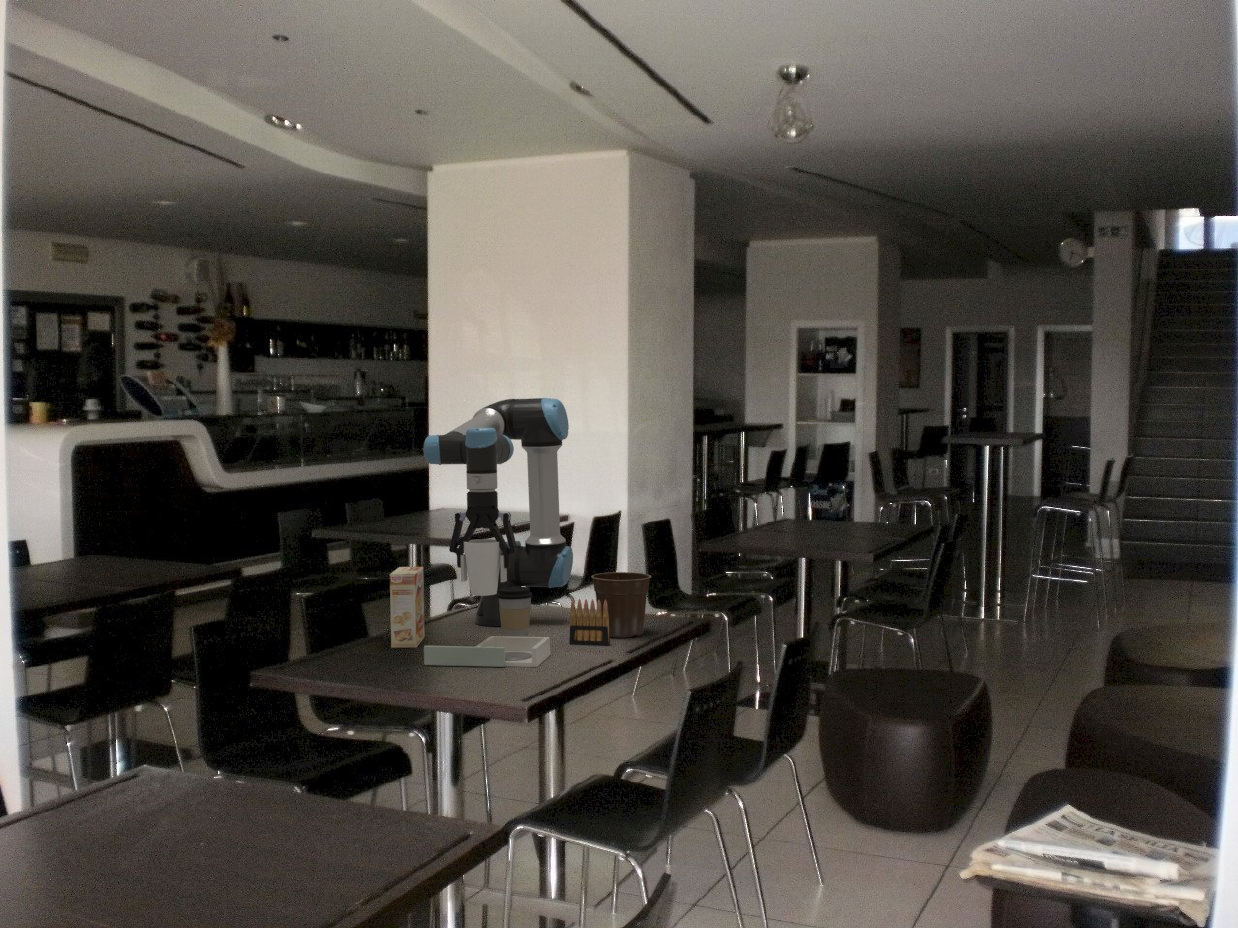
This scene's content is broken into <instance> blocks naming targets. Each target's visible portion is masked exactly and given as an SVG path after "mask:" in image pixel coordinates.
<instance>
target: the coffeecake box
mask: <svg viewBox="0 0 1238 928" xmlns="http://www.w3.org/2000/svg"><path fill="white" fill-rule="evenodd" d="M424 580H425V579H424V566H399V567H397V568H396V569H395V570H393V571H391V573H389V593H390V598H389V599H390V600H389V601H390V602H389V604H390V642H391V643H390V648H391V649H397V648H399V649H401V648H402V649H403V648H404V649H405V648H406V649H407V648H413V649H414V648H418V646H419V645H420V644H421V643H422V641H423V640H424V639H425V599H424V598H425V594H424V592H425V587H424V586H425V585H424V584H425V583H424V582H425V581H424Z"/></svg>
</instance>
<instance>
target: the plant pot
mask: <svg viewBox="0 0 1238 928" xmlns="http://www.w3.org/2000/svg"><path fill="white" fill-rule="evenodd" d="M591 579H592V582H593V590H594V592H595V601H596V603H597V602H598V600H600V603H601V610H602V625H603V605H604V601H605V600H606V601H607V606H608V615H609V630H610V638H614V639H624V638H627V639H628V638H632V637H640V636H642V635H643V634H644V632H645V631H644V630H645V628H644V627H645V618H646V605H647V595H648V591H649V587H650V580H651V579H652V575H650V574H647V573H643V572H630V571H629V572H628V571H627V572H626V571H624V572H623V571H612V572H600V573H594V574H593V575H591Z"/></svg>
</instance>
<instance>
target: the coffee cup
mask: <svg viewBox="0 0 1238 928" xmlns="http://www.w3.org/2000/svg"><path fill="white" fill-rule="evenodd" d="M497 598H499V605H500V607H499V610H500V618H501V626H500V628H501V629H502V636H510V637H529V628H530V623H531V612H532V611H531V609H532V606H531V603H532V601H531V600H532V598H533V592H531V590H530V587H506V588H501V589H499V593H498V594H497Z"/></svg>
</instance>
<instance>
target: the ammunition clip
mask: <svg viewBox="0 0 1238 928" xmlns="http://www.w3.org/2000/svg"><path fill="white" fill-rule="evenodd" d="M570 603H571V604H570V613H569V615H570V616H569V618H570V619H569V620H570V621H569V622H570V623H569V624H570V625H569V642H568V643H569V645H570V646H571V645H572V646H599V647H608V646H610V645H611V637H610V630H609V615H608V606H607V601H606V600H605V601H604V605H603V625H602V610H601V603H600V600H598V602H596V605H595V601H594V599H592V598H591V601H590V605H589V602H588V600H587V599H586V598H585V600H584V604H582V601H581V599H580V598H579V599H578V602H577V605H576V602H575V600H574V598H572V599H571V602H570ZM582 605H583V606H582ZM576 606H577V607H576ZM589 607H590V609H589ZM576 609H577V610H576ZM589 610H590V611H589Z"/></svg>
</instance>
